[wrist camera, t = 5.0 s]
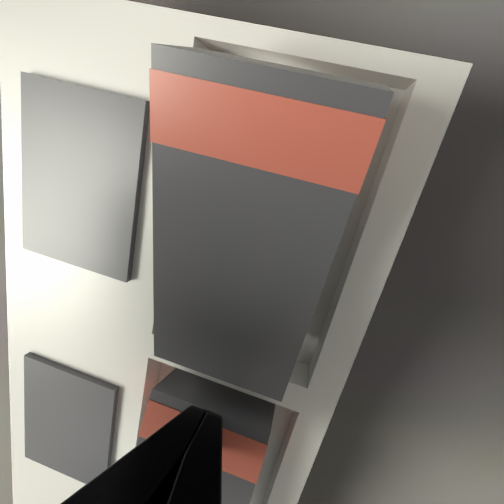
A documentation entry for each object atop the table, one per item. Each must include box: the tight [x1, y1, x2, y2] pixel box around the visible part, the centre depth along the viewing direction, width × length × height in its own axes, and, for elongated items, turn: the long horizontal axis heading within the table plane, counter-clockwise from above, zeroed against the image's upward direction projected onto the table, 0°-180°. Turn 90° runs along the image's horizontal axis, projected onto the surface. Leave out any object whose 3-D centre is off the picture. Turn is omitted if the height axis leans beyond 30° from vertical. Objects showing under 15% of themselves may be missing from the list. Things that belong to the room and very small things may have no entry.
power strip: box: [0, 0, 473, 504], centre depth 12 cm, size 24×10×4 cm, turn 167°
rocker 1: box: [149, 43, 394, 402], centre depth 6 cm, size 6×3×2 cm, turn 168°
